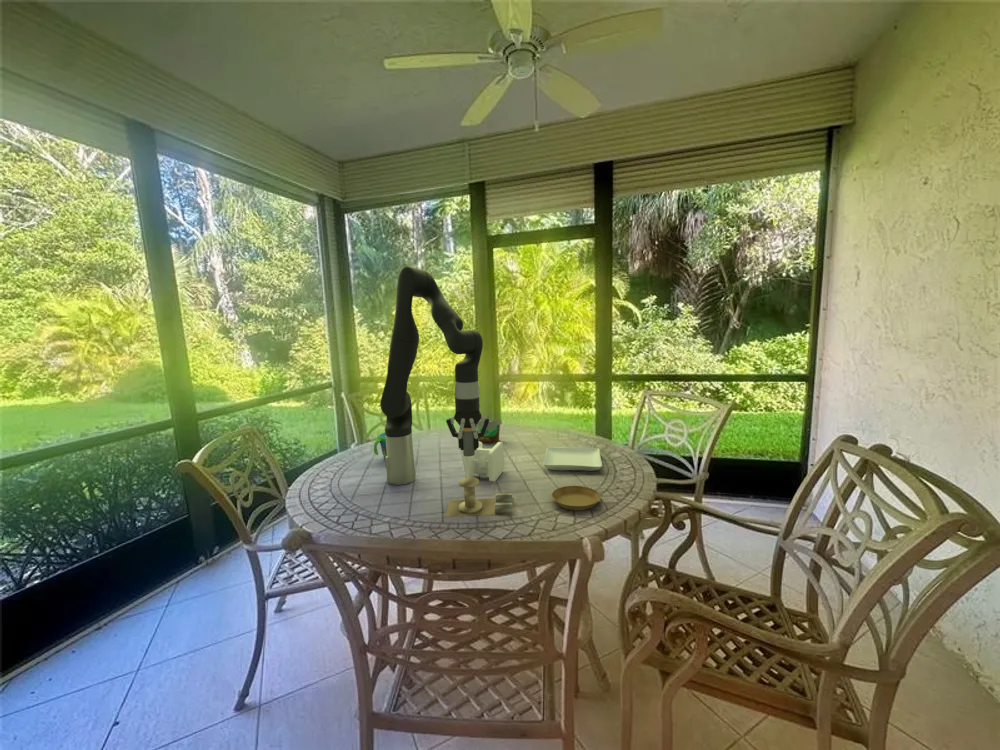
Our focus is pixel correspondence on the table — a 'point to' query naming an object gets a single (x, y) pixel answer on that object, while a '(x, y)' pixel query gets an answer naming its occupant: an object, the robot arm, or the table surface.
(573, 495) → the plant saucer
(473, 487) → the bobbin
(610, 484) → the table surface
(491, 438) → the food container
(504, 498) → the winding board
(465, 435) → the spice jar
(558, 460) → the salad plate
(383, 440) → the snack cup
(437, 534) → the table surface
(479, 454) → the cable organizer
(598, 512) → the table surface
